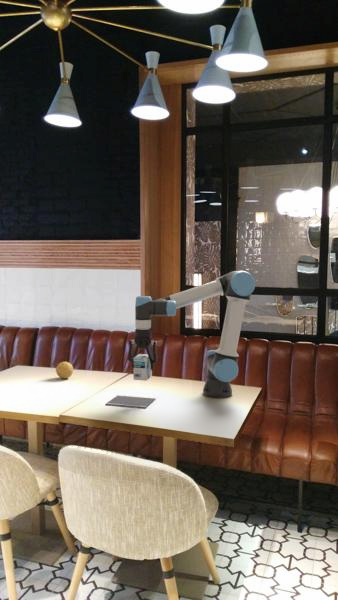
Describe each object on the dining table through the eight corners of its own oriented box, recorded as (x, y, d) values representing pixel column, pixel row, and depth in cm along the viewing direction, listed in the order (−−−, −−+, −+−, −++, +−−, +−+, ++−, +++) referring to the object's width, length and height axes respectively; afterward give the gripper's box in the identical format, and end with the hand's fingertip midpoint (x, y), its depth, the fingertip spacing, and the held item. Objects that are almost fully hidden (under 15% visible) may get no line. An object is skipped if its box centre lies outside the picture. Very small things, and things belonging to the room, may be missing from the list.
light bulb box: (146, 381, 223) (146, 358, 223) (132, 380, 225) (133, 357, 224) (152, 376, 234) (152, 354, 233) (138, 375, 235) (139, 353, 234)
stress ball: (67, 377, 286) (54, 367, 284) (77, 366, 285) (64, 355, 283) (64, 384, 276) (51, 374, 275) (75, 372, 275) (61, 361, 273)
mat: (155, 399, 237) (155, 398, 237) (145, 408, 221) (145, 407, 221) (117, 396, 242) (117, 395, 242) (105, 405, 226) (105, 403, 226)
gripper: (165, 328, 229) (164, 375, 230) (126, 326, 234) (126, 372, 235) (160, 330, 221) (160, 379, 223) (120, 328, 227) (120, 376, 228)
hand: (142, 375), depth 229 cm, fingers closed on light bulb box, 7 cm apart
